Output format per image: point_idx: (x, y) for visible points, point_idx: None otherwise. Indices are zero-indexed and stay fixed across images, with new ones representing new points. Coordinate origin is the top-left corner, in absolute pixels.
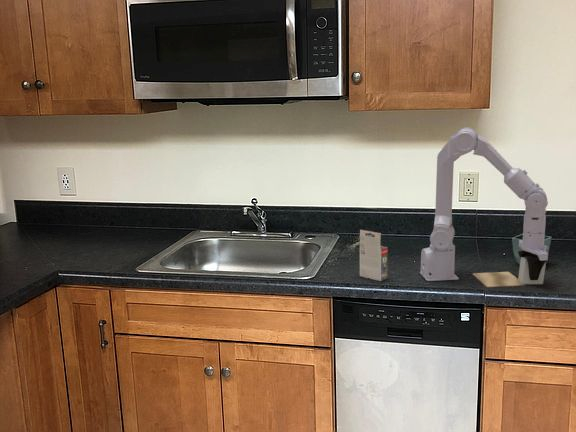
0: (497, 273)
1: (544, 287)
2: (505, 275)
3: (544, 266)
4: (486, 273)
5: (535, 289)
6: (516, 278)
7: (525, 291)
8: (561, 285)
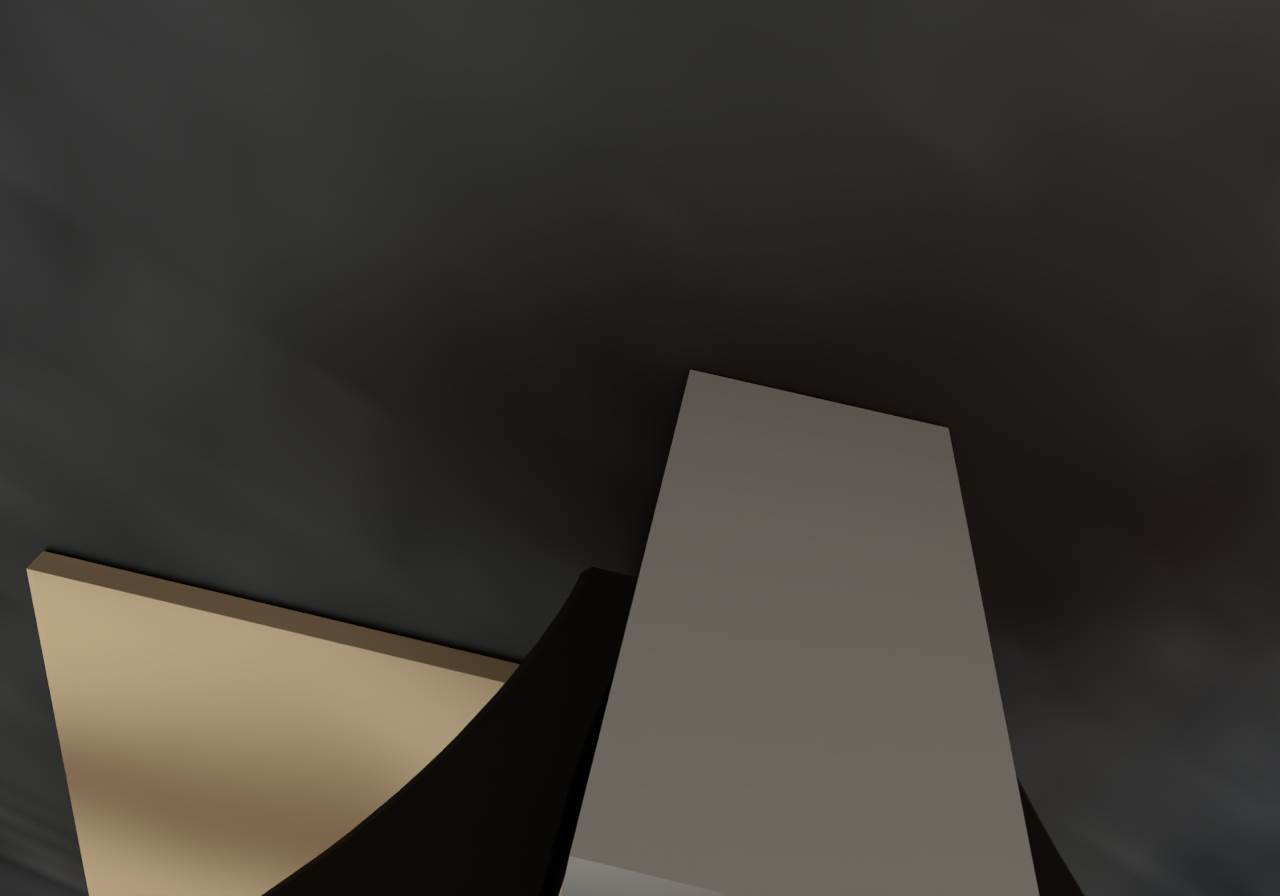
0: (133, 765)
1: (1131, 514)
2: (260, 731)
3: (999, 789)
4: (121, 874)
5: (1127, 720)
6: (470, 687)
7: (1115, 890)
8: (1271, 29)
